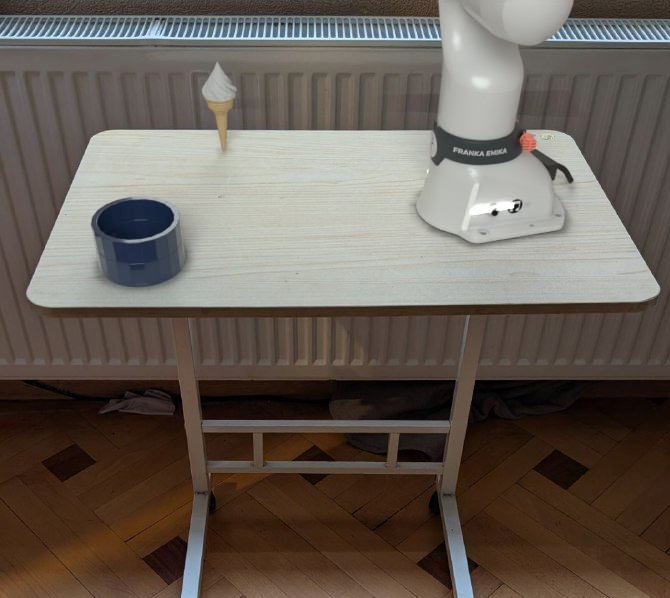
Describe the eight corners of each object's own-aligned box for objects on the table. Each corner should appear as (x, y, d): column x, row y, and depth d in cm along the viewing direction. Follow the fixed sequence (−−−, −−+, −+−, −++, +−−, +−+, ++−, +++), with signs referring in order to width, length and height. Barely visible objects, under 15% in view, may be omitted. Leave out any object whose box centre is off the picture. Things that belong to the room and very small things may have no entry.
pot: (185, 237, 120) (180, 194, 116) (184, 284, 112) (179, 240, 107) (103, 241, 119) (95, 198, 114) (96, 289, 111) (87, 244, 106)
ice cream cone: (238, 159, 138) (233, 69, 127) (204, 158, 138) (196, 67, 127) (242, 143, 142) (237, 54, 131) (209, 142, 142) (201, 53, 131)
